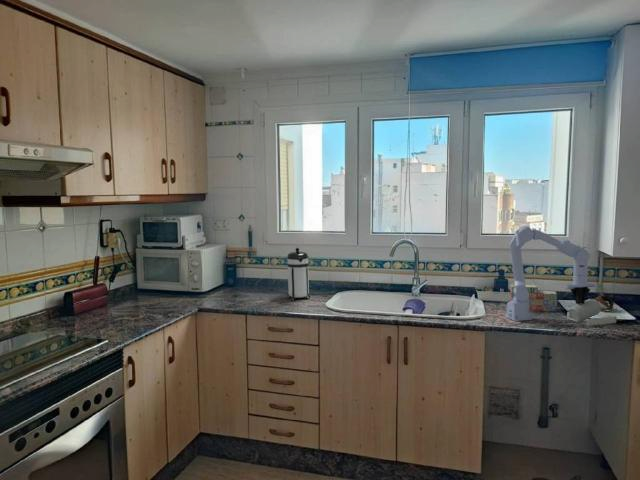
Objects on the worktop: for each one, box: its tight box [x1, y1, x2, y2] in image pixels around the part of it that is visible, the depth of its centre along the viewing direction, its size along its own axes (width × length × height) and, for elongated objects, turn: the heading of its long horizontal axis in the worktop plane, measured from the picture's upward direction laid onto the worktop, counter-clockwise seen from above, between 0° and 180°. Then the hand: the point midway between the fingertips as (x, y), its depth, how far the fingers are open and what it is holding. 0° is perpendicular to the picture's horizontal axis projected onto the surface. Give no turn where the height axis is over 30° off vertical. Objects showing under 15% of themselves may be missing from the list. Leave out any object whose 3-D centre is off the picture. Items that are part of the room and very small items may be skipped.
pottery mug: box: [593, 295, 615, 311], centre depth 236 cm, size 12×10×8 cm
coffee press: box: [286, 247, 311, 299], centre depth 278 cm, size 17×16×30 cm
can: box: [569, 298, 602, 323], centre depth 217 cm, size 8×8×12 cm
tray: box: [566, 311, 617, 327], centre depth 219 cm, size 15×13×3 cm
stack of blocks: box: [509, 283, 558, 312], centre depth 241 cm, size 21×6×12 cm, turn 72°
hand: (579, 303), depth 216 cm, fingers closed
